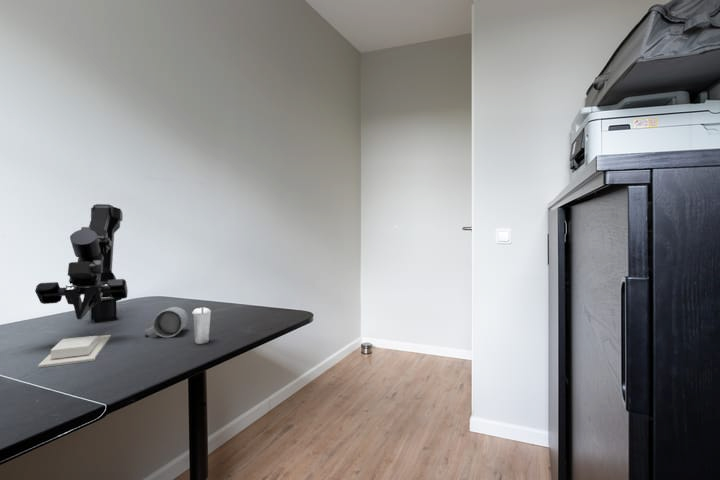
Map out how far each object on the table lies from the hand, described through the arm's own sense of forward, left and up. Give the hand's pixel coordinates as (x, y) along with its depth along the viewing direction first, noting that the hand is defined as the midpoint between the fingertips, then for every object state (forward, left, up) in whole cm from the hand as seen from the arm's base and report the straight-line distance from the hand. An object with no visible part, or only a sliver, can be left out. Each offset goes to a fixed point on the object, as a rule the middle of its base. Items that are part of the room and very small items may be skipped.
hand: (78, 318), depth 90 cm
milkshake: (-24, +16, -8) cm, 30 cm away
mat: (0, +1, -8) cm, 8 cm away
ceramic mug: (-20, +1, -8) cm, 21 cm away
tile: (0, -1, -6) cm, 6 cm away
